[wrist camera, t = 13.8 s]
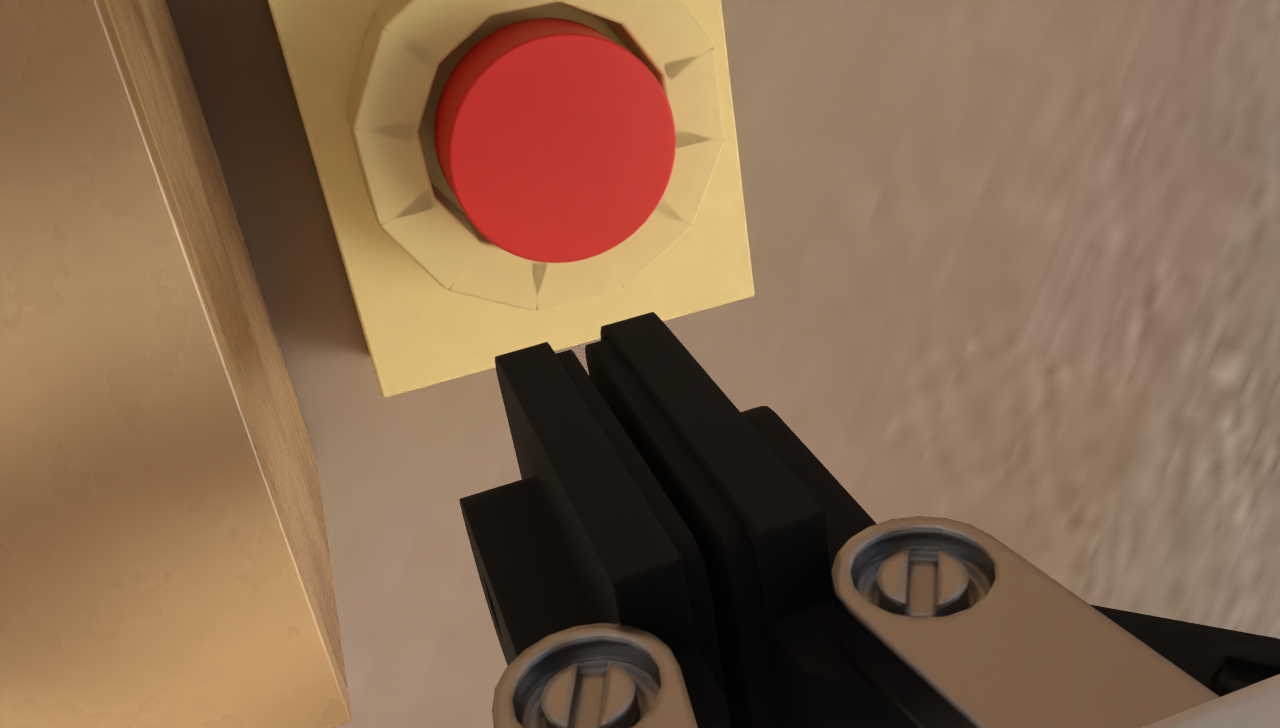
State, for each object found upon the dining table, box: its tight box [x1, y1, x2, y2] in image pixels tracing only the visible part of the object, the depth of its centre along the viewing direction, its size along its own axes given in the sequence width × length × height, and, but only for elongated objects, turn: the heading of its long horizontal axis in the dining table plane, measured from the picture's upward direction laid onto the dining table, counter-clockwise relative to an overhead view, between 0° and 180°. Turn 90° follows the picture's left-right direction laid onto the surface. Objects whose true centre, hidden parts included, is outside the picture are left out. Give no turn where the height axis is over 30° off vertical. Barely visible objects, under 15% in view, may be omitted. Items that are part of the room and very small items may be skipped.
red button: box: [434, 18, 676, 263], centre depth 23 cm, size 4×4×2 cm
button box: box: [268, 0, 754, 397], centre depth 25 cm, size 11×9×4 cm
